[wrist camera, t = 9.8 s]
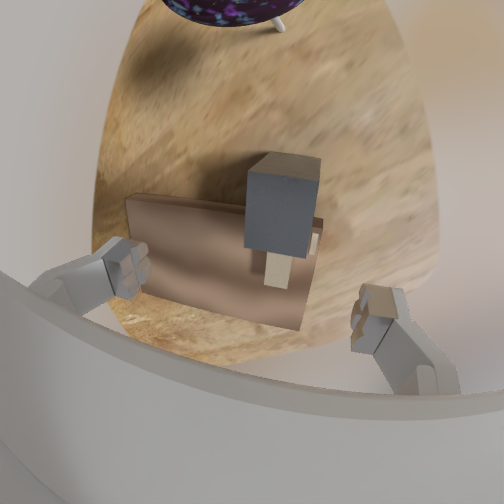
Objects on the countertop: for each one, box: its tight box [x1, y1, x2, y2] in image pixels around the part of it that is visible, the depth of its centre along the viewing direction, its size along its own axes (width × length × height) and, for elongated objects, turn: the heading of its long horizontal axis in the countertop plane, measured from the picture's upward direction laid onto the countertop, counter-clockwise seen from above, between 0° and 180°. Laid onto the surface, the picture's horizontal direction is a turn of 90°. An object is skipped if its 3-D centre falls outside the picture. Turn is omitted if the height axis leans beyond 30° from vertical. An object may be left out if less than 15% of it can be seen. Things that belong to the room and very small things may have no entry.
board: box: [125, 193, 323, 331], centre depth 27 cm, size 12×19×2 cm, turn 86°
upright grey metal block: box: [244, 152, 321, 289], centre depth 20 cm, size 10×4×7 cm, turn 176°
